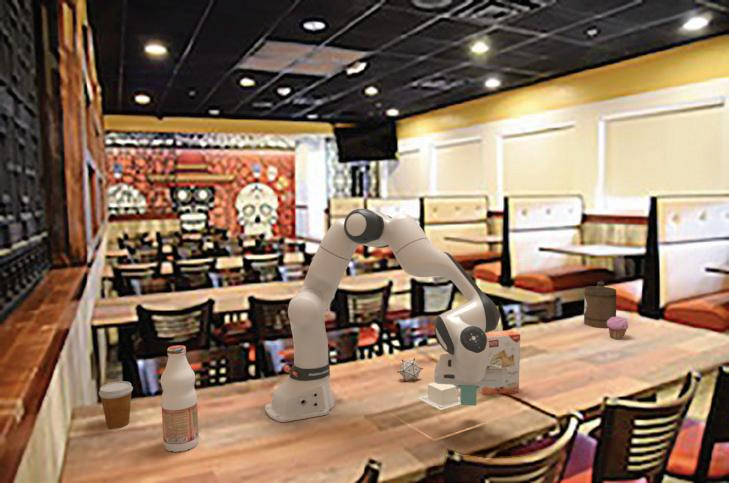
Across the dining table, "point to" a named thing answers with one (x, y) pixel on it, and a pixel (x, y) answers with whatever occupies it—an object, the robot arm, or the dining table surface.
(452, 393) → the cream brick
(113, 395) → the disposable coffee cup
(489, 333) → the cracker box
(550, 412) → the dining table surface
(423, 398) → the baseplate
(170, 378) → the fruit juice
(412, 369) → the game die
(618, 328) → the cupcake
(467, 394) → the teal brick
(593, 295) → the wooden container
